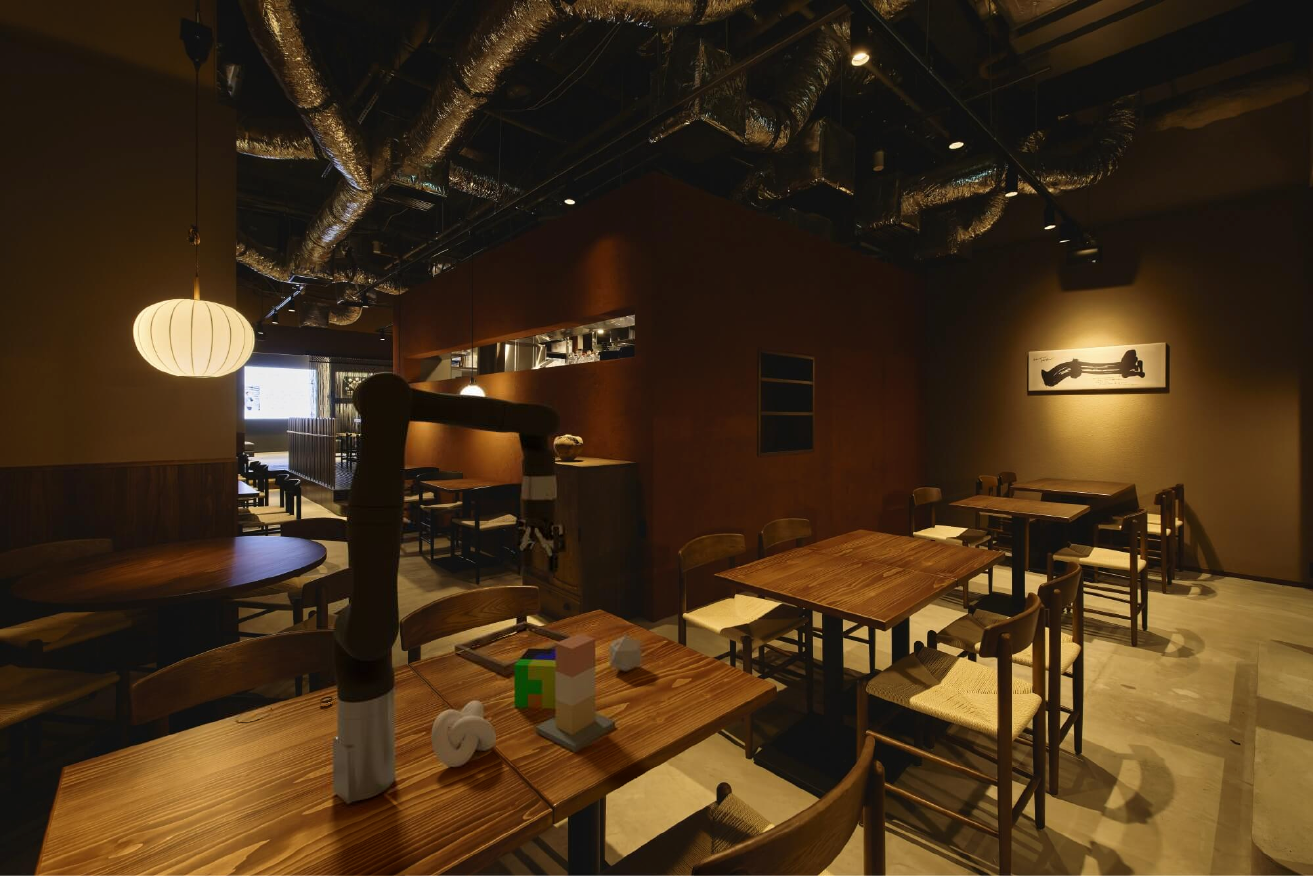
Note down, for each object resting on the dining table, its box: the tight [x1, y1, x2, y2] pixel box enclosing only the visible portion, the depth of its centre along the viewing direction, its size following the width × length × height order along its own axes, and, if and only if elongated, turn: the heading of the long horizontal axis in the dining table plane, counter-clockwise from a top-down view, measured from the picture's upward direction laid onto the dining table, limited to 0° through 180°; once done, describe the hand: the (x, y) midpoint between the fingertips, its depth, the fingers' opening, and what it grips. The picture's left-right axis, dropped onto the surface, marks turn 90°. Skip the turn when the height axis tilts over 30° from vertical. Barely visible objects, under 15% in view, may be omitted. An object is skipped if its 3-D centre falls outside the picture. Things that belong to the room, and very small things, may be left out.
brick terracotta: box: [555, 633, 596, 677], centre depth 117 cm, size 7×5×6 cm
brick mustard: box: [555, 693, 596, 735], centre depth 117 cm, size 7×5×6 cm
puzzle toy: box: [513, 647, 556, 710], centre depth 131 cm, size 10×10×10 cm
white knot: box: [431, 700, 497, 768], centre depth 108 cm, size 11×12×9 cm
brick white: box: [555, 666, 596, 706], centre depth 117 cm, size 7×5×6 cm
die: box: [609, 634, 643, 673], centre depth 145 cm, size 8×9×10 cm
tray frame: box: [454, 621, 572, 676], centre depth 159 cm, size 25×23×3 cm
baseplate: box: [535, 712, 616, 753], centre depth 117 cm, size 12×12×1 cm
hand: (539, 569), depth 119 cm, fingers open, 8 cm apart
